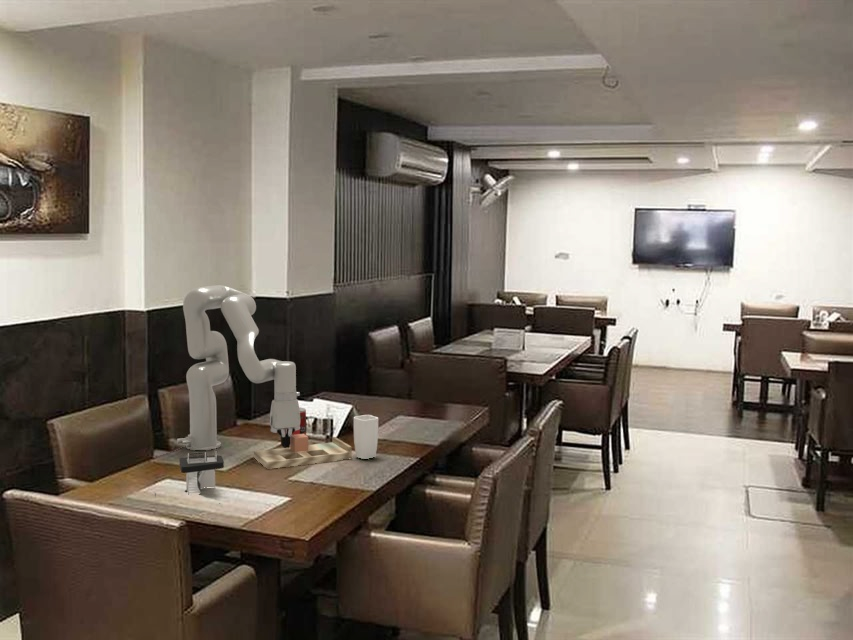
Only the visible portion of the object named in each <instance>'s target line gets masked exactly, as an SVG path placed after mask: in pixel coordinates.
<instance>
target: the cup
mask: <svg viewBox="0 0 853 640" xmlns="http://www.w3.org/2000/svg"><path fill="white" fill-rule="evenodd" d="M378 442H379V417H378V416H374V415H372V414H363V415H357V416H353V444H354V451H355V457H356V458H357V457H358V458H357V459H359V458H361V459H360V460H362V459H368V460H370V459H369V458H373V457H375V458H377V457H376V456H377V449H378ZM373 459H374V458H373Z"/></svg>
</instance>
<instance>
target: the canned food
mask: <svg viewBox="0 0 853 640" xmlns="http://www.w3.org/2000/svg"><path fill="white" fill-rule="evenodd" d="M299 410H300V429H299V430H297V431H294V432H293V434H292V435H297V434H305V435H306V436H307V409H306V408H304V407H300V406H299ZM286 430H287V428H286V429H285V431H286Z"/></svg>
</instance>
